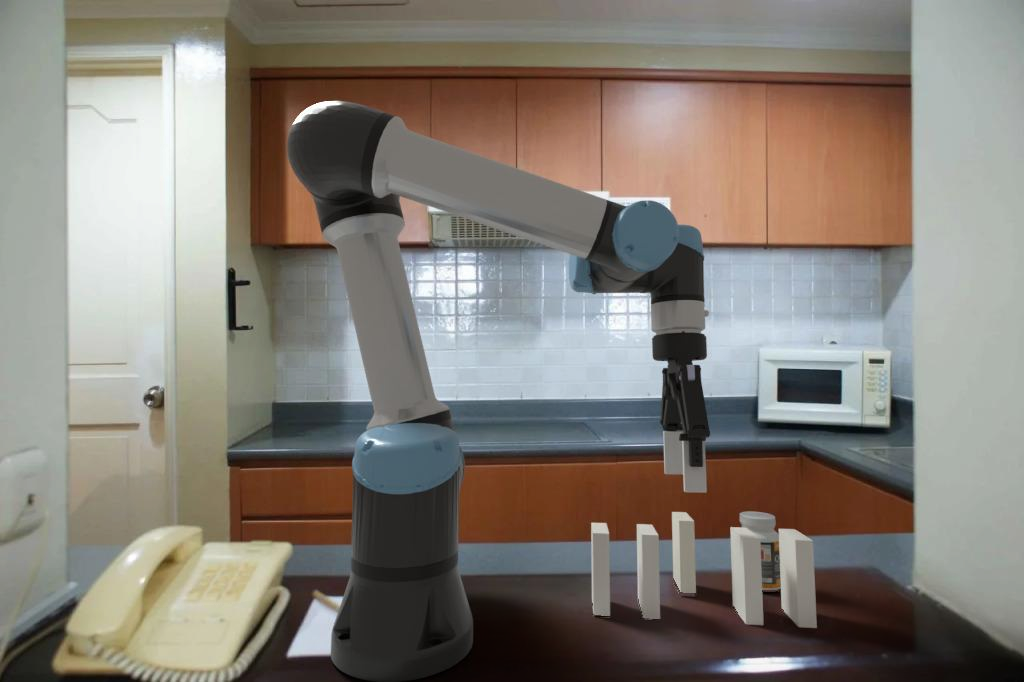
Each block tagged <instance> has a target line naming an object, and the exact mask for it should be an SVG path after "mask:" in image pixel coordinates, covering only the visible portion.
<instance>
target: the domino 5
mask: <svg viewBox="0 0 1024 682" xmlns="http://www.w3.org/2000/svg"><path fill="white" fill-rule="evenodd" d="M778 534H779V554H780V580H781V590H780V597H781V598H780V599H781V610H782V609H783V610H784V611H783V610H782V611H783V612H784V613H785V615H787V617H788V618H790V619H791V620H792V622H793V623H794V624H795V625H796V626H797V627H798V628H810V629H817V628H818V625H817V623H818V621H817V602H816V601H817V600H816V581H815V580H816V579H815V576H816V574H815V560H814V559H815V557H814V553H815V552H814V540H813V539H811V538H809V537H808V536H806V535H805V534H803V533H802V532H800V531H799V530H796V529H795V528H778Z"/></svg>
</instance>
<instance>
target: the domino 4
mask: <svg viewBox="0 0 1024 682" xmlns="http://www.w3.org/2000/svg"><path fill="white" fill-rule="evenodd" d="M729 534H730V557H731V558H730V559H731V560H730V561H731V587H732V588H731V592H732V607H733V606H734V607H735V609H736V610H735V609H734V610H735V611H737V612H738V613H737V612H736V613H737V614H738V615H739V617H740V619H742V621H743V622H744V624H745V625H750V626H751V625H753V626H765V625H764V609H763V608H764V602H763V592H762V570H761V543H760V538H759V537H757V536H756V535H755V534H754V533H752V532H751V531H750V530H749V529H747V528H743V527H742V526H741V527H740V526H739V527H737V526H736V527H735V526H734V527H733V526H730V533H729Z"/></svg>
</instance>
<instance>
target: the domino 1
mask: <svg viewBox="0 0 1024 682" xmlns="http://www.w3.org/2000/svg"><path fill="white" fill-rule="evenodd" d="M590 525H591V527H590V531H591V533H590V537H591V538H590V539H591V540H590V541H591V544H590V545H591V546H590V547H591V551H590V552H591V557H590V560H591V604H592V603H593V606H592V614H594V615H601V616H610V617H611V585H610V584H611V583H610V582H611V578H610V577H611V576H610V574H611V573H610V570H611V569H610V567H611V565H610V563H611V562H610V532H609V528H608V527H609V526H608V524H607V522H591V523H590ZM594 615H593V616H594Z"/></svg>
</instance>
